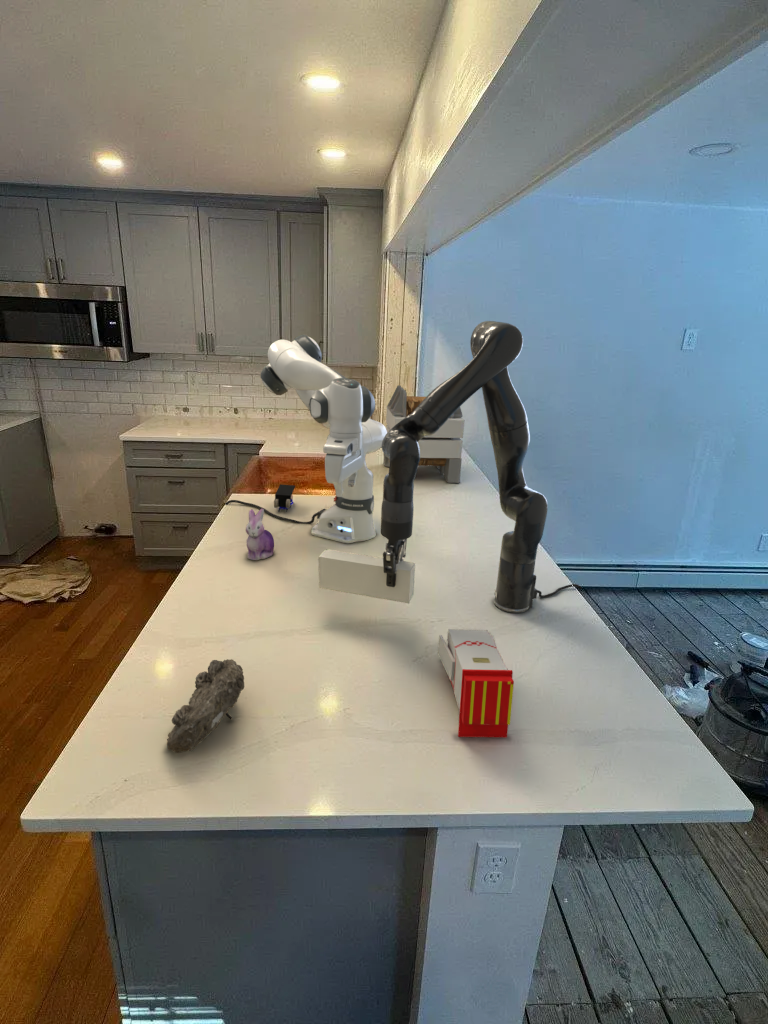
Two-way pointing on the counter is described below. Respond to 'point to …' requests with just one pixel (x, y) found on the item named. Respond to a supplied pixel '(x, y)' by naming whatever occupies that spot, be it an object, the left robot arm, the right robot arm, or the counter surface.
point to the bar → (364, 576)
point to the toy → (478, 682)
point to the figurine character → (284, 497)
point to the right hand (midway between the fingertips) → (393, 580)
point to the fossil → (206, 705)
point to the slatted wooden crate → (431, 436)
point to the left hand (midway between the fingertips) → (345, 491)
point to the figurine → (258, 537)
